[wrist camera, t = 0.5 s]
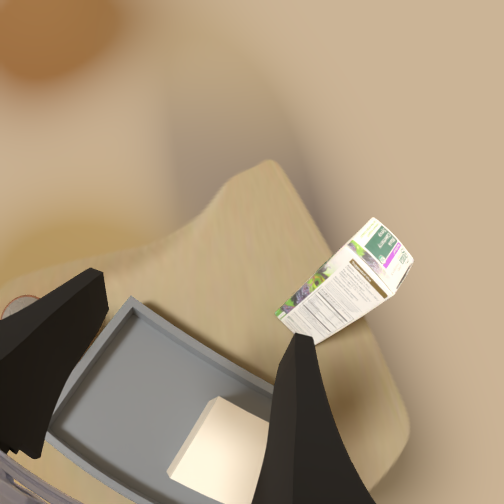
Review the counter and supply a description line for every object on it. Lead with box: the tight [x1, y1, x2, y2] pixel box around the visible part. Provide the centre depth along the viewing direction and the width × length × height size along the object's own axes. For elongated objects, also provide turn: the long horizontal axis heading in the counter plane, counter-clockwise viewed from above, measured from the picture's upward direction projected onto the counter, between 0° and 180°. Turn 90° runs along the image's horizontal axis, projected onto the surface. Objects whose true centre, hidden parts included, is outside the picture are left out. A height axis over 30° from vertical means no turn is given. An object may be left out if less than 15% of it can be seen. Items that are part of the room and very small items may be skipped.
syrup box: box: [275, 217, 414, 345], centre depth 30 cm, size 6×6×14 cm
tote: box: [45, 296, 274, 504], centre depth 23 cm, size 16×21×2 cm
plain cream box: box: [166, 396, 269, 504], centre depth 22 cm, size 8×8×4 cm
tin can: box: [0, 295, 40, 320], centre depth 22 cm, size 5×5×6 cm
